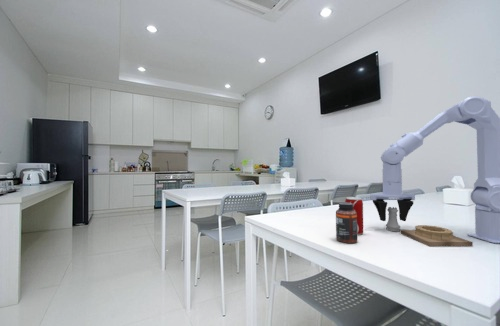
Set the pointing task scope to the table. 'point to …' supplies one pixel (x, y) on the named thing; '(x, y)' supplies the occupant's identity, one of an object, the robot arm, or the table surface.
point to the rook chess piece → (392, 220)
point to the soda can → (359, 210)
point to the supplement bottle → (346, 223)
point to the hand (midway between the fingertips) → (392, 220)
